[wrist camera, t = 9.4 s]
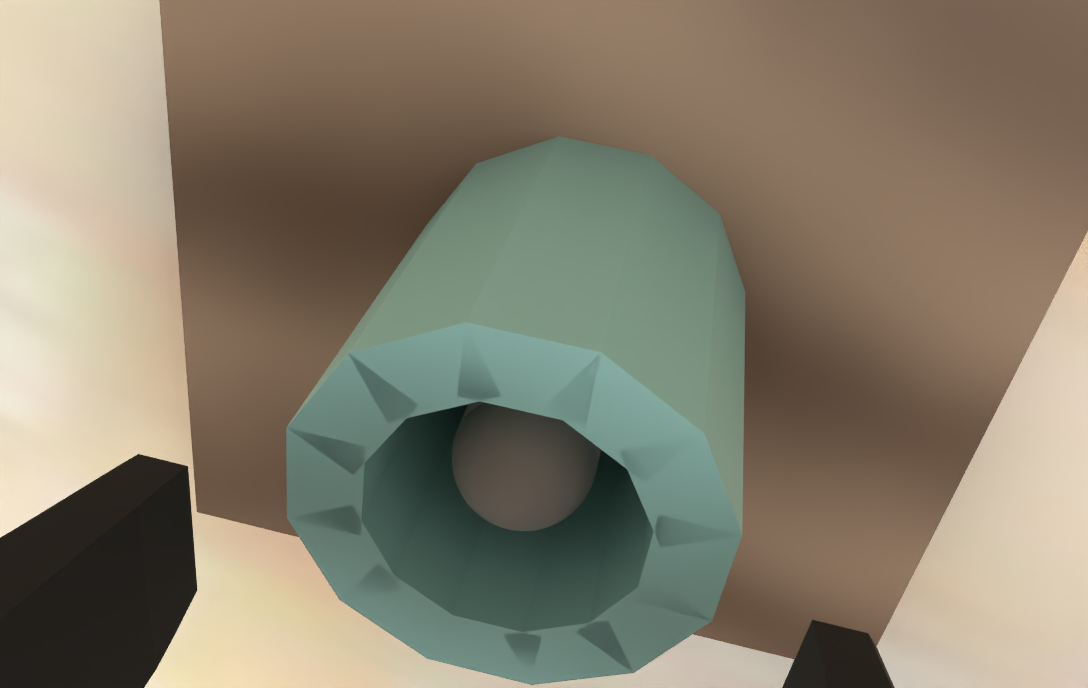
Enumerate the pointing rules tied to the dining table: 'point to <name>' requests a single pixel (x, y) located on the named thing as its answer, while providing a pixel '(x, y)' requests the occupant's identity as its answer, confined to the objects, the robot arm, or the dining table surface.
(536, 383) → the teal roll
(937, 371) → the brown square base plate
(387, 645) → the dining table surface
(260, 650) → the dining table surface
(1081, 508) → the dining table surface
